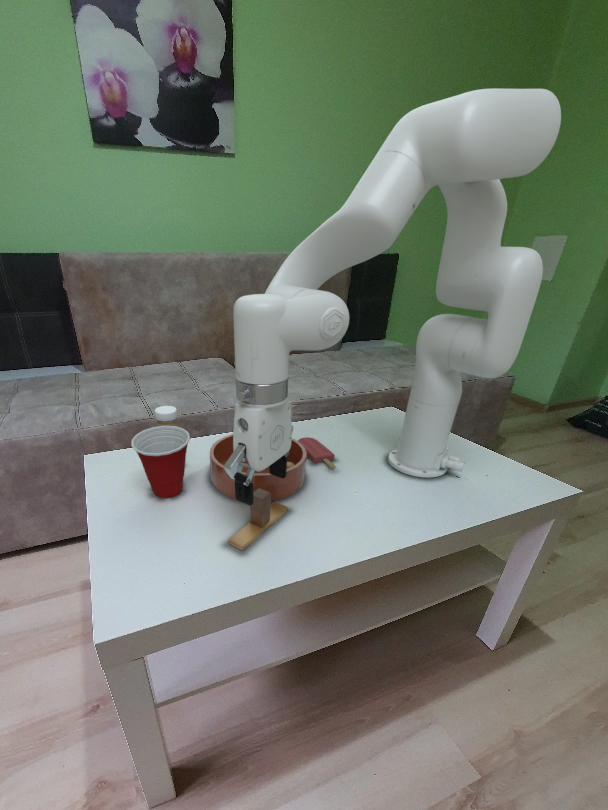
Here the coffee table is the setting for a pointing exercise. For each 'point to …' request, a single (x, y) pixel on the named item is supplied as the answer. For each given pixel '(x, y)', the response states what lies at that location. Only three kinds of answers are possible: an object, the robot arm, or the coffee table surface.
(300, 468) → the bowl
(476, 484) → the coffee table surface
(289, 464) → the bead
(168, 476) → the plastic cup
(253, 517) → the stirrer
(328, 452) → the popsicle
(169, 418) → the sprinkles bottle
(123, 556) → the coffee table surface
